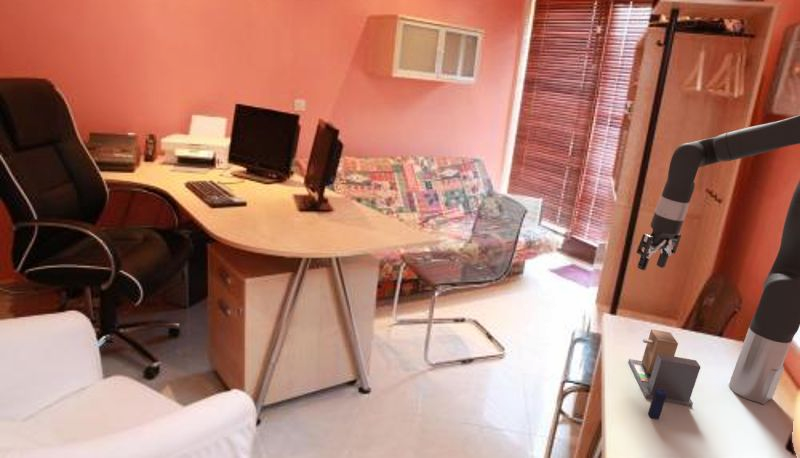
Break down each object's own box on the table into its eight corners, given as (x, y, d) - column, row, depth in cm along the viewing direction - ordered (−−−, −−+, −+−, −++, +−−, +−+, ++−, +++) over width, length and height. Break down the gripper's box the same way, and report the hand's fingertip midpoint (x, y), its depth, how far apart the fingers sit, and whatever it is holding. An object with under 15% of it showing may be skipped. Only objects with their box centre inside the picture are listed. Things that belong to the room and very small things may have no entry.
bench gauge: (628, 362, 149) (638, 326, 145) (669, 369, 148) (680, 333, 144) (645, 398, 133) (657, 359, 129) (691, 406, 132) (705, 367, 128)
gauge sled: (633, 360, 147) (642, 327, 144) (660, 365, 147) (670, 332, 144) (639, 372, 142) (649, 338, 139) (667, 377, 141) (678, 343, 138)
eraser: (656, 414, 127) (664, 389, 125) (659, 420, 125) (667, 395, 123) (647, 412, 127) (654, 387, 125) (650, 418, 125) (657, 393, 123)
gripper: (665, 220, 141) (645, 276, 147) (697, 218, 148) (677, 271, 154) (641, 210, 147) (623, 264, 153) (673, 208, 154) (655, 260, 160)
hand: (650, 267), depth 153 cm, fingers open, 8 cm apart
